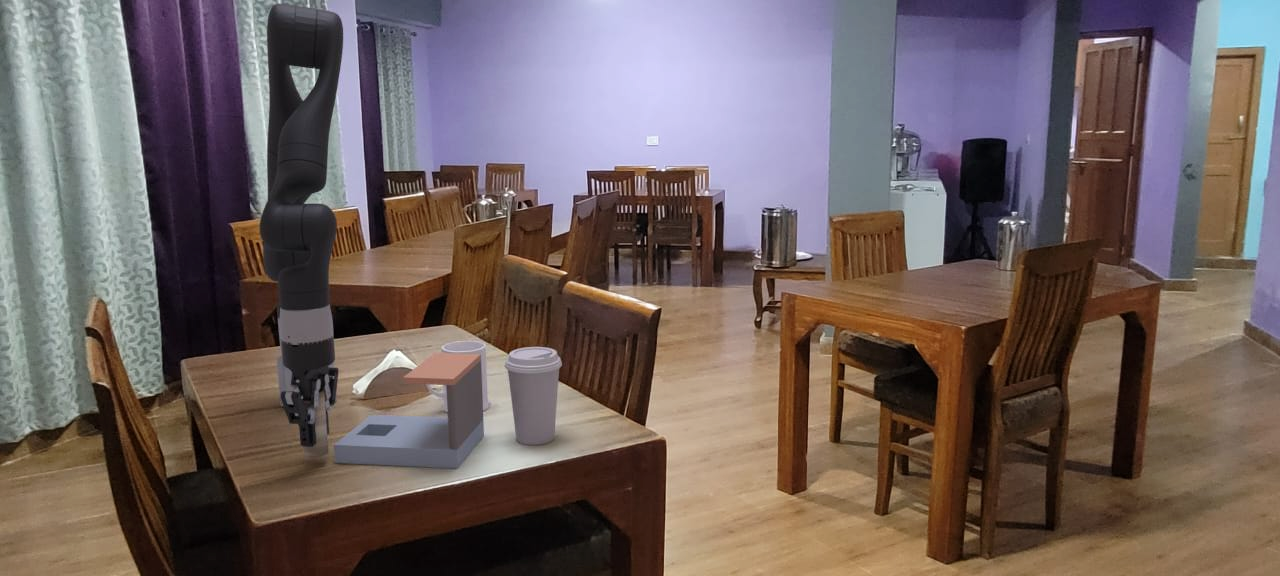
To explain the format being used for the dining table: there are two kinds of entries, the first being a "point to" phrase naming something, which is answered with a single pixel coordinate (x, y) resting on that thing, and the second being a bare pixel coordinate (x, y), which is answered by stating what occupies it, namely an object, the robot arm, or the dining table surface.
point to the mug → (466, 348)
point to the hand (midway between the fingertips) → (315, 440)
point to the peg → (318, 430)
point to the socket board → (425, 421)
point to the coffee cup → (534, 393)
